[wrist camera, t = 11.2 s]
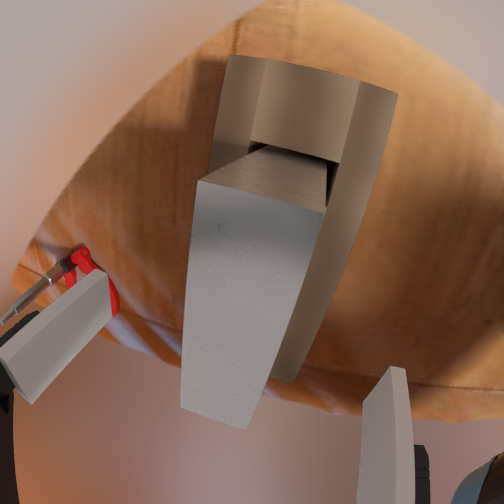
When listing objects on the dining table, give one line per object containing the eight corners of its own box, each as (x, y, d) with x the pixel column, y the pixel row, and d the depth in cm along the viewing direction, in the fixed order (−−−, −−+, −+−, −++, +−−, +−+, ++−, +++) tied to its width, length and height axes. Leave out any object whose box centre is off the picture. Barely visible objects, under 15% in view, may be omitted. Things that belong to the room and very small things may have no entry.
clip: (327, 157, 20) (324, 213, 9) (284, 303, 26) (246, 430, 15) (272, 143, 20) (197, 180, 9) (240, 290, 27) (180, 407, 15)
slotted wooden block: (385, 97, 17) (398, 93, 13) (298, 354, 28) (292, 384, 25) (246, 64, 18) (229, 54, 15) (203, 324, 30) (187, 350, 26)
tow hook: (133, 308, 32) (90, 241, 29) (70, 390, 21) (6, 310, 18) (95, 318, 35) (57, 261, 32) (39, 384, 24) (-11, 320, 21)
